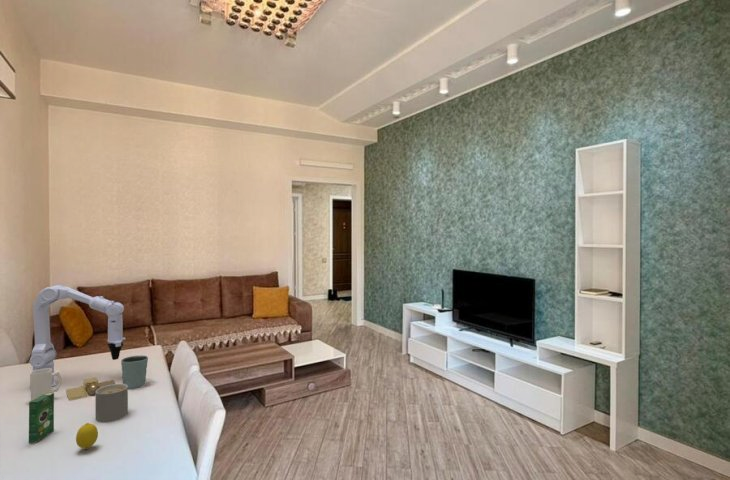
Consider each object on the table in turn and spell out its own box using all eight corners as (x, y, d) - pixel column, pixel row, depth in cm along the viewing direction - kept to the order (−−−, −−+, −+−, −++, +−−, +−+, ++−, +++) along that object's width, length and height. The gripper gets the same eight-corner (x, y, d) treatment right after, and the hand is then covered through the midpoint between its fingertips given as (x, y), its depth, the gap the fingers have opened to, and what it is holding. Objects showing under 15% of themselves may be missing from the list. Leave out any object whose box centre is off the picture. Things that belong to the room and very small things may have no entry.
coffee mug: (130, 416, 143) (130, 389, 143) (97, 425, 137) (97, 396, 137) (123, 404, 154) (123, 379, 153) (92, 412, 147) (92, 385, 147)
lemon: (83, 444, 124) (83, 419, 124) (101, 444, 124) (101, 418, 124) (71, 454, 118) (71, 427, 118) (91, 453, 119) (91, 427, 119)
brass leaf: (66, 391, 166) (66, 383, 166) (96, 385, 173) (96, 377, 173) (69, 400, 157) (69, 391, 157) (100, 393, 164) (100, 384, 164)
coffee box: (45, 430, 133) (45, 392, 133) (54, 430, 133) (54, 391, 133) (27, 443, 125) (27, 402, 125) (37, 442, 125) (37, 401, 125)
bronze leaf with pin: (84, 388, 170) (84, 379, 170) (113, 382, 177) (113, 374, 177) (88, 396, 161) (88, 387, 161) (118, 389, 168) (118, 381, 168)
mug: (28, 406, 152) (28, 375, 152) (31, 400, 157) (31, 370, 157) (61, 400, 158) (61, 370, 157) (62, 394, 163) (62, 365, 163)
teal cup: (115, 388, 170) (115, 360, 170) (137, 380, 180) (137, 354, 180) (132, 391, 167) (132, 363, 167) (153, 383, 176) (153, 356, 176)
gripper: (128, 331, 177) (128, 361, 178) (122, 325, 188) (122, 353, 188) (110, 333, 173) (110, 364, 173) (104, 327, 184) (104, 356, 184)
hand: (115, 359), depth 180 cm, fingers closed
